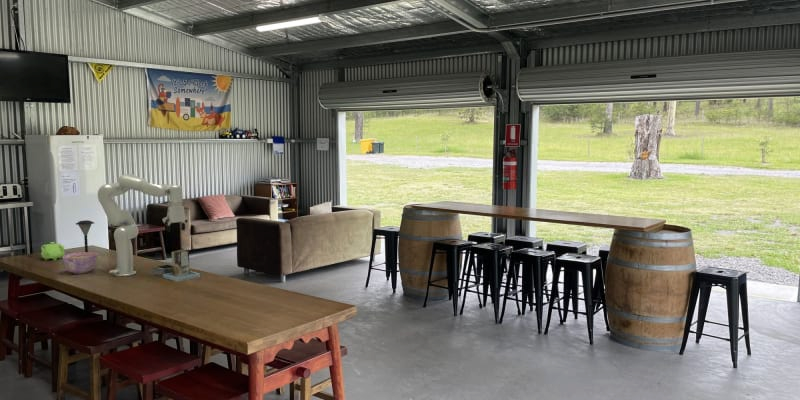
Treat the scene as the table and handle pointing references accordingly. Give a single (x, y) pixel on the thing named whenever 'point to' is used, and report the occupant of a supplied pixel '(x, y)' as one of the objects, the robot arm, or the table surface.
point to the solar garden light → (85, 230)
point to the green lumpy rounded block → (52, 251)
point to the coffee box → (180, 263)
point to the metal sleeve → (163, 269)
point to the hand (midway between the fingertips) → (176, 230)
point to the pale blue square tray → (177, 279)
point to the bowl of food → (80, 262)
